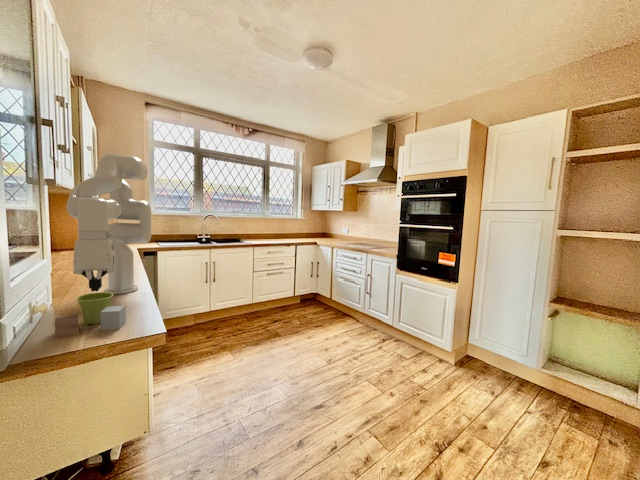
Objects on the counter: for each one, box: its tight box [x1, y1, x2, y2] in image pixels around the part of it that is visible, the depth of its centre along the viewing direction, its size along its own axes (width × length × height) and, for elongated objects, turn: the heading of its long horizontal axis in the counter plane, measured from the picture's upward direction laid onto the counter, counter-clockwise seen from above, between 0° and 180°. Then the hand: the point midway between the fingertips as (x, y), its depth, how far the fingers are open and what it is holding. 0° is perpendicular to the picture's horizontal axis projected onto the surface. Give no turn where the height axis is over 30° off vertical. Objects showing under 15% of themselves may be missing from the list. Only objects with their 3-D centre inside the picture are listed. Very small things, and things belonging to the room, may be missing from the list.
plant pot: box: [75, 291, 114, 325], centre depth 89 cm, size 9×9×9 cm
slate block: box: [100, 305, 127, 331], centre depth 85 cm, size 5×5×6 cm
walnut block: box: [54, 313, 80, 339], centre depth 79 cm, size 5×5×5 cm
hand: (95, 290), depth 88 cm, fingers closed
